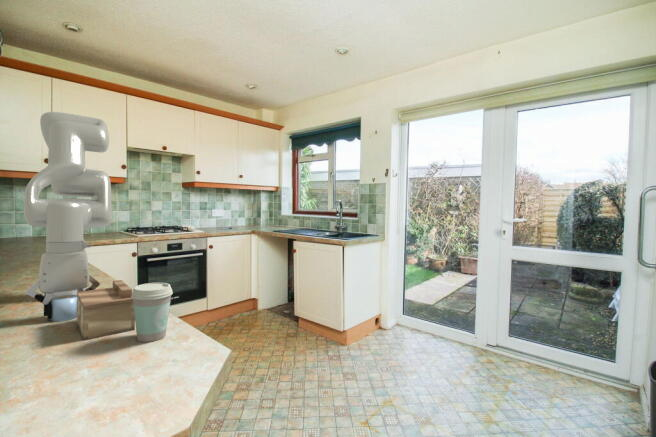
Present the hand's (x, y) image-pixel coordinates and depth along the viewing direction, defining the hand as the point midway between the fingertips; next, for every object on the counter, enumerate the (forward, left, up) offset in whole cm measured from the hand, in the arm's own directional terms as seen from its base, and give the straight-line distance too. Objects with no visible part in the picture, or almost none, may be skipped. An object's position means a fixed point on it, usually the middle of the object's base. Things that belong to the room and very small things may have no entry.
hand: (64, 314), depth 84 cm
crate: (+13, +7, -1) cm, 15 cm away
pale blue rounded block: (0, 0, -1) cm, 1 cm away
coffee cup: (+27, +14, -1) cm, 30 cm away
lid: (+13, +7, +6) cm, 16 cm away
